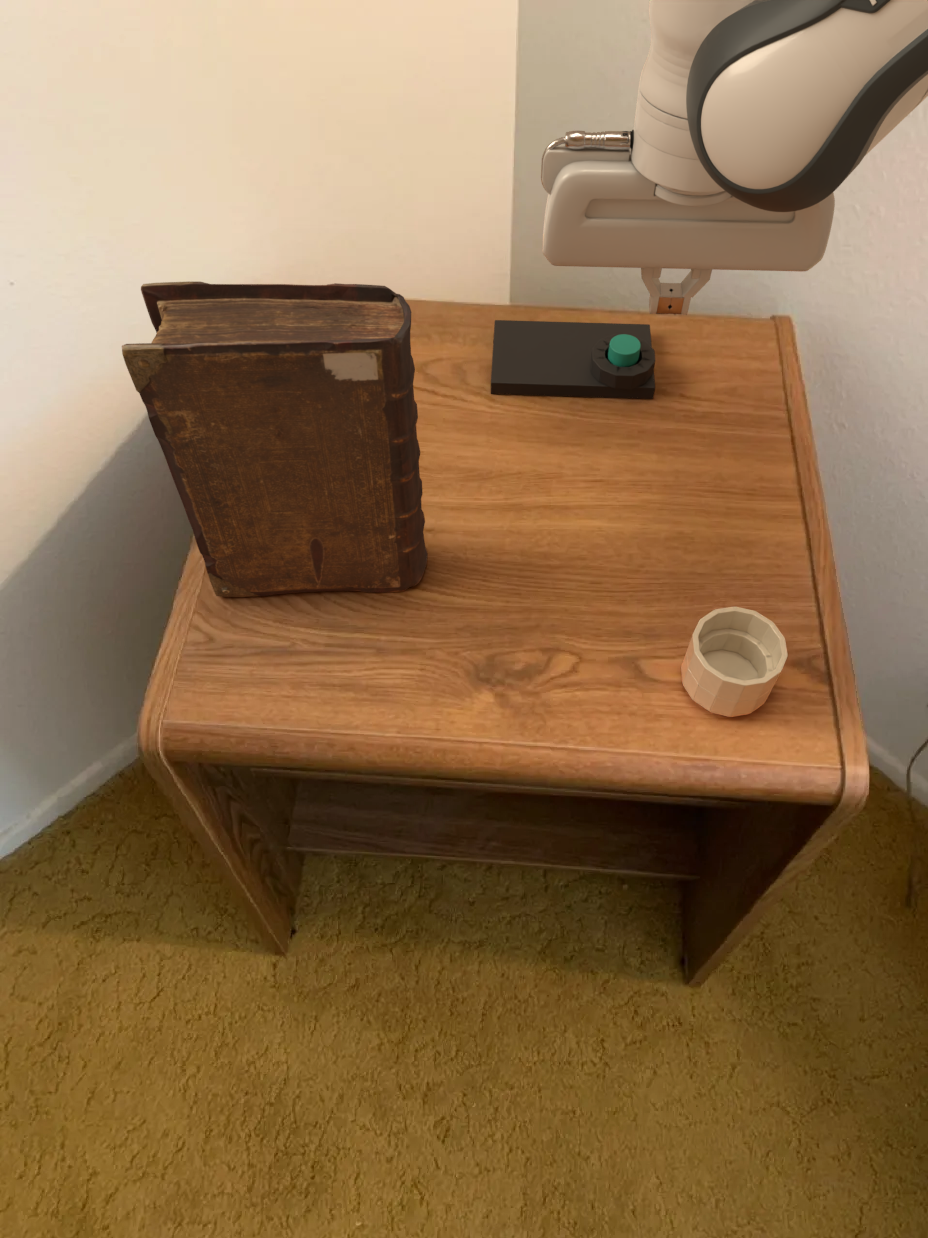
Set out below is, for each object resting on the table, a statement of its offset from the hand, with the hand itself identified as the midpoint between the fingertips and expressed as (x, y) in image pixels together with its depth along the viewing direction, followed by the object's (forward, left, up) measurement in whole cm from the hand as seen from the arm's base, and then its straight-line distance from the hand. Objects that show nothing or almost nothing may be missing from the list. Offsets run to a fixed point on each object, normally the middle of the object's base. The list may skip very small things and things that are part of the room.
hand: (667, 309), depth 72 cm
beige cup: (-5, +26, -13) cm, 29 cm away
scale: (+6, -8, -13) cm, 17 cm away
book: (+26, +18, -13) cm, 34 cm away
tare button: (+2, -6, -10) cm, 12 cm away
